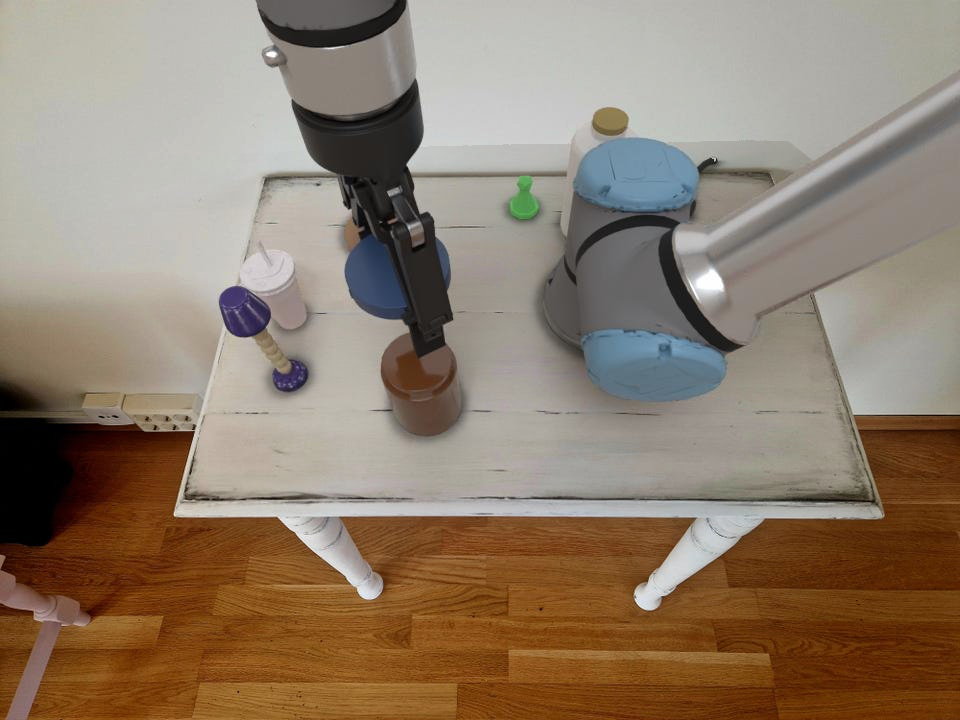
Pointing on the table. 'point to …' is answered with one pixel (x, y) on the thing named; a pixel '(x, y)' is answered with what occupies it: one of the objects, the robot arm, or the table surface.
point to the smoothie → (275, 285)
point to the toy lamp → (260, 334)
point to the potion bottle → (587, 137)
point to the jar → (421, 387)
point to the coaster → (355, 233)
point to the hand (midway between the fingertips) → (407, 311)
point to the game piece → (524, 200)
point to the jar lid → (381, 278)
